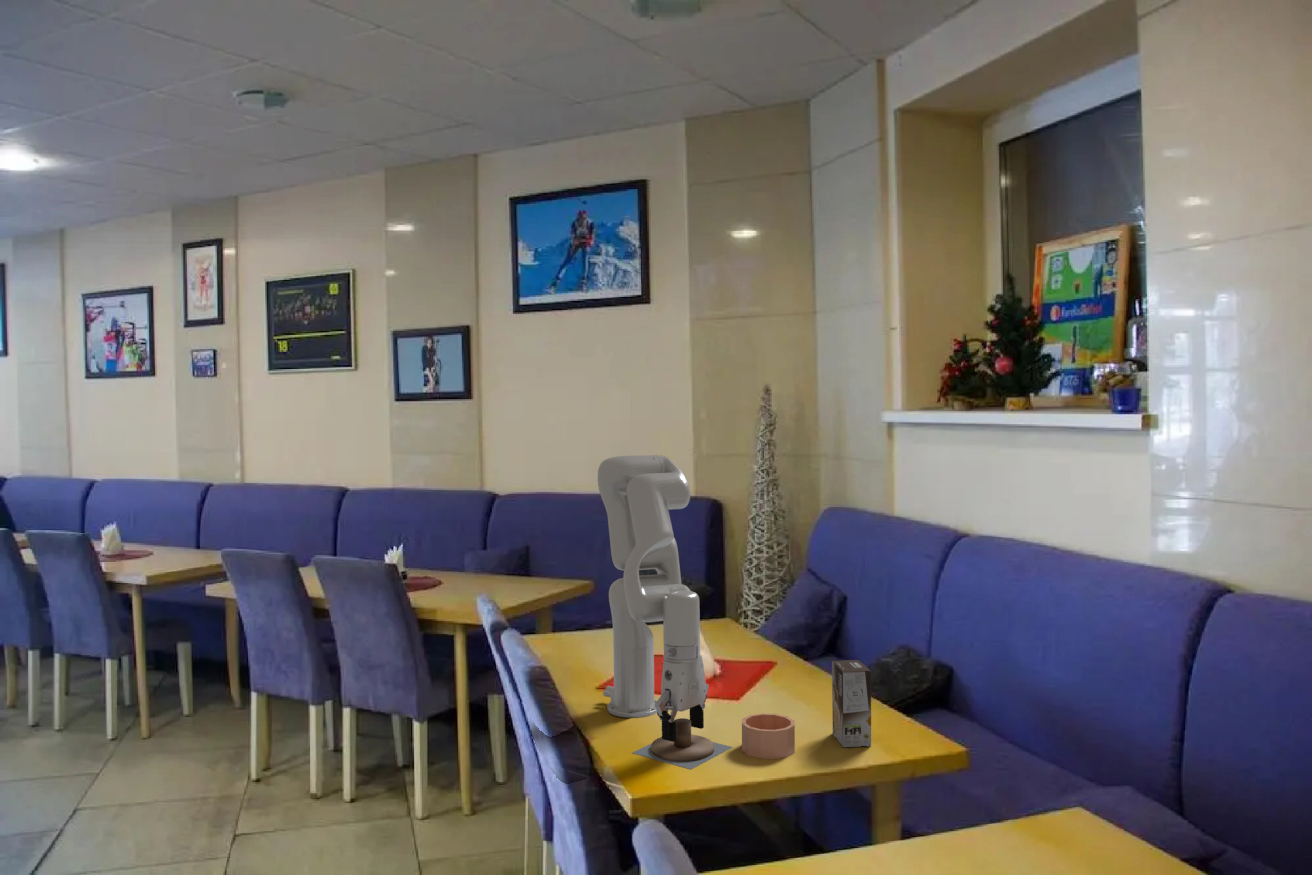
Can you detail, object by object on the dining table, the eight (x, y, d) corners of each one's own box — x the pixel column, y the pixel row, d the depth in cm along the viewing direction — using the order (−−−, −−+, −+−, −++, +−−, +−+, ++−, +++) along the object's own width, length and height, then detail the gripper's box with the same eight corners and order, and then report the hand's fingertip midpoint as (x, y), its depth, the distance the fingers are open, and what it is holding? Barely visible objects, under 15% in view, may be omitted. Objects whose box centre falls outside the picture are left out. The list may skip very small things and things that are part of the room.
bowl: (732, 752, 195) (732, 723, 194) (759, 737, 203) (759, 710, 203) (777, 764, 188) (777, 734, 188) (804, 748, 197) (803, 720, 196)
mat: (631, 754, 194) (631, 752, 194) (675, 734, 206) (674, 732, 206) (691, 771, 185) (691, 769, 185) (732, 748, 197) (732, 746, 197)
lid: (638, 752, 194) (638, 723, 194) (675, 734, 204) (675, 707, 204) (690, 766, 186) (690, 736, 186) (726, 747, 197) (725, 718, 196)
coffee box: (872, 746, 197) (872, 670, 197) (842, 748, 197) (842, 671, 196) (859, 731, 206) (859, 659, 206) (830, 732, 206) (830, 660, 205)
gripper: (671, 662, 185) (672, 749, 186) (720, 645, 199) (721, 725, 199) (641, 657, 190) (643, 741, 190) (691, 640, 204) (692, 719, 204)
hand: (683, 733), depth 195 cm, fingers open, 9 cm apart
